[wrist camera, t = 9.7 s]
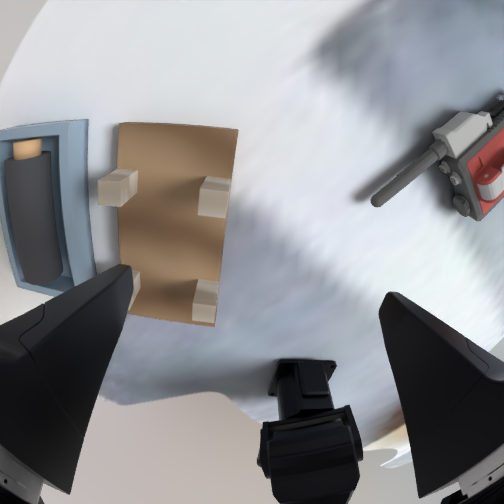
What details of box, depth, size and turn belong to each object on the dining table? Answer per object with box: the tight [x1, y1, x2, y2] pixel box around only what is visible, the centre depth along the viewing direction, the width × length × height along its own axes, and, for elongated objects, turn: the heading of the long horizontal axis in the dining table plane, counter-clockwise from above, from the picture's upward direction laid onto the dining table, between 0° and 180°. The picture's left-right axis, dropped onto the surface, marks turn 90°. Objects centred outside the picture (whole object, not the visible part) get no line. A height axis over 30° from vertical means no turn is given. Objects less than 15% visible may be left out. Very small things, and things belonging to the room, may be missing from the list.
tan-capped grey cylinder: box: [5, 138, 63, 285], centre depth 17 cm, size 11×4×4 cm, turn 172°
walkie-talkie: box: [371, 100, 504, 221], centre depth 17 cm, size 9×4×20 cm
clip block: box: [98, 122, 238, 327], centre depth 19 cm, size 16×8×4 cm, turn 172°
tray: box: [0, 119, 96, 297], centre depth 19 cm, size 15×9×3 cm, turn 172°
